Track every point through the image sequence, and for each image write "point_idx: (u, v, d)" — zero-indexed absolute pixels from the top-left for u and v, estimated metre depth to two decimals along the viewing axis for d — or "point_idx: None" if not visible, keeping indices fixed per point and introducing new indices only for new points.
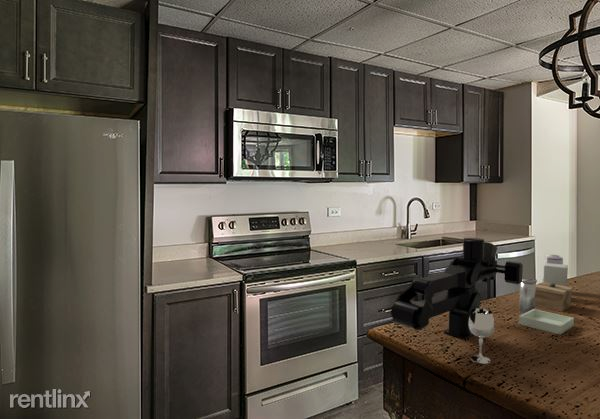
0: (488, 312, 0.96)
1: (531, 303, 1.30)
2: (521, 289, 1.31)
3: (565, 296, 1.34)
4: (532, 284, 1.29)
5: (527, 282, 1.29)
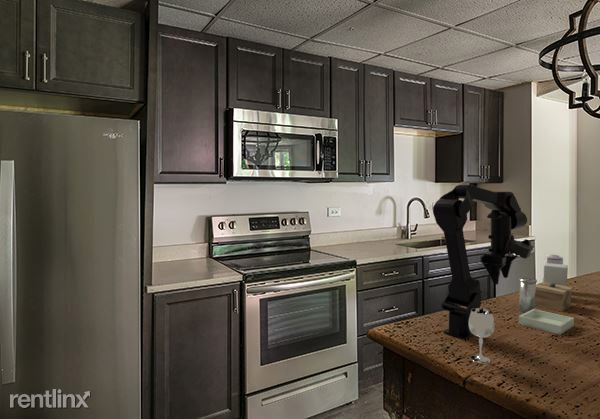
0: (488, 312, 0.96)
1: (531, 303, 1.30)
2: (521, 289, 1.31)
3: (565, 296, 1.34)
4: (532, 284, 1.29)
5: (527, 282, 1.29)
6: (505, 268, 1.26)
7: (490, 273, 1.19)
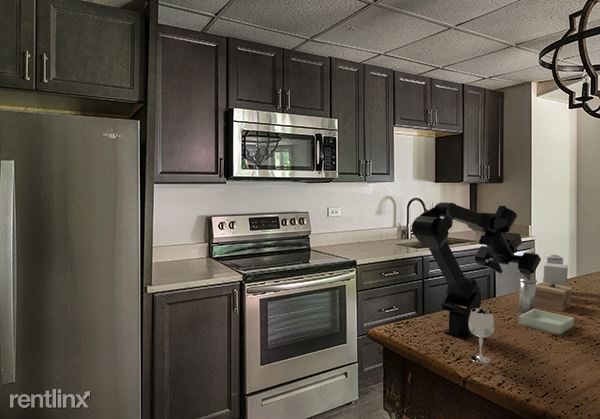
0: (488, 312, 0.96)
1: (531, 303, 1.30)
2: (521, 289, 1.31)
3: (565, 296, 1.34)
4: (532, 284, 1.29)
5: (527, 282, 1.29)
6: (497, 267, 1.30)
7: (528, 275, 1.20)
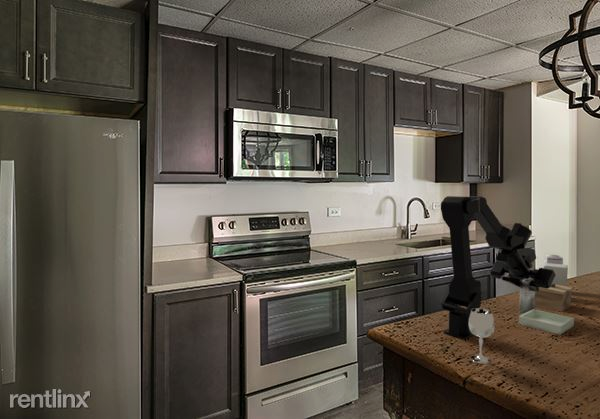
0: (488, 312, 0.96)
1: (531, 303, 1.30)
2: (521, 289, 1.31)
3: (565, 296, 1.34)
4: None
5: (527, 282, 1.29)
6: (518, 281, 1.33)
7: (536, 287, 1.27)
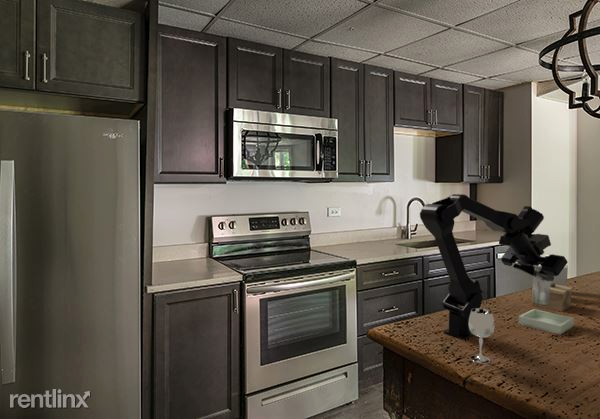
0: (488, 312, 0.96)
1: (544, 292, 1.21)
2: (534, 278, 1.23)
3: (565, 296, 1.34)
4: None
5: (539, 270, 1.21)
6: (532, 270, 1.25)
7: (549, 276, 1.18)
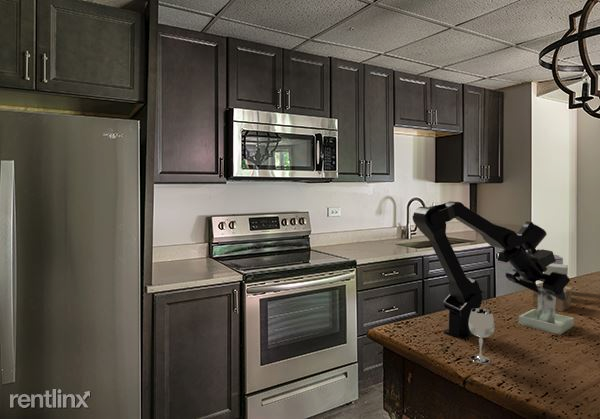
0: (488, 312, 0.96)
1: (548, 313, 1.17)
2: (538, 298, 1.19)
3: (565, 296, 1.34)
4: None
5: (543, 290, 1.17)
6: (532, 285, 1.23)
7: (558, 296, 1.12)
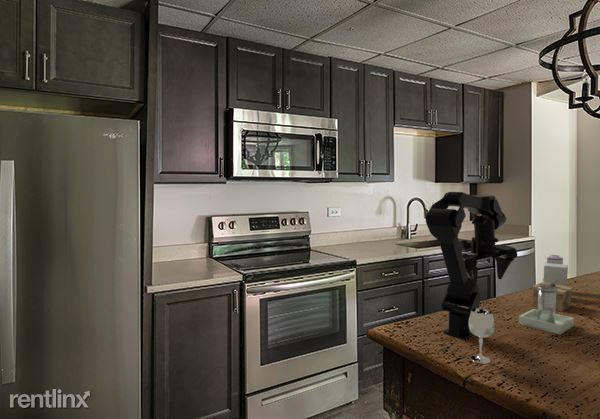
0: (488, 312, 0.96)
1: (548, 313, 1.17)
2: (538, 298, 1.19)
3: (565, 296, 1.34)
4: (550, 293, 1.16)
5: (543, 290, 1.17)
6: None
7: None
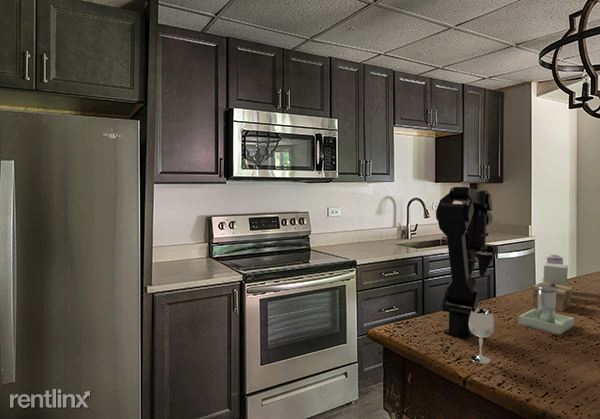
0: (488, 312, 0.96)
1: (548, 313, 1.17)
2: (538, 297, 1.19)
3: (565, 296, 1.34)
4: (549, 293, 1.16)
5: (543, 290, 1.17)
6: None
7: None
